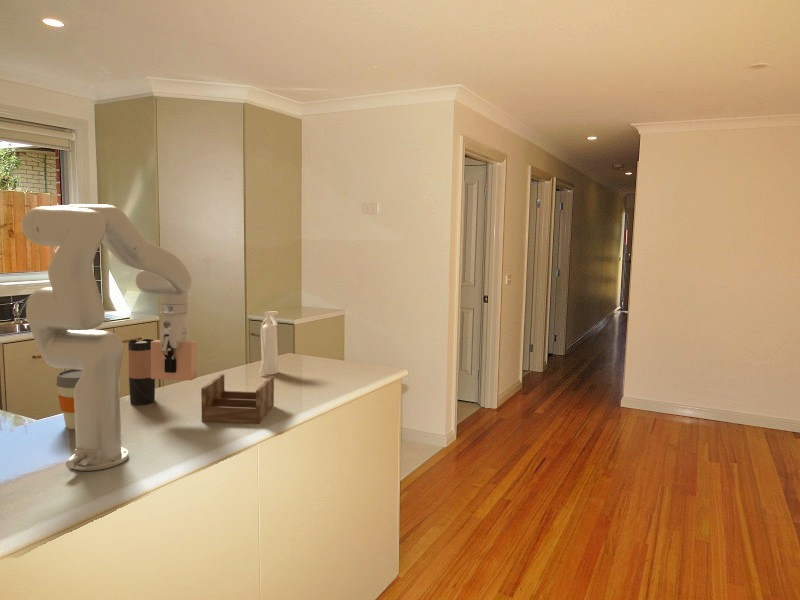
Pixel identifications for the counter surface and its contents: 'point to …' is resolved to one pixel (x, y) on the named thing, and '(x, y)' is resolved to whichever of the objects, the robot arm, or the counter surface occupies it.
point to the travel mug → (140, 372)
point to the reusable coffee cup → (68, 394)
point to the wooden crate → (236, 403)
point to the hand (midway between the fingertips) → (174, 370)
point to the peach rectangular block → (184, 361)
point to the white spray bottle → (269, 344)
